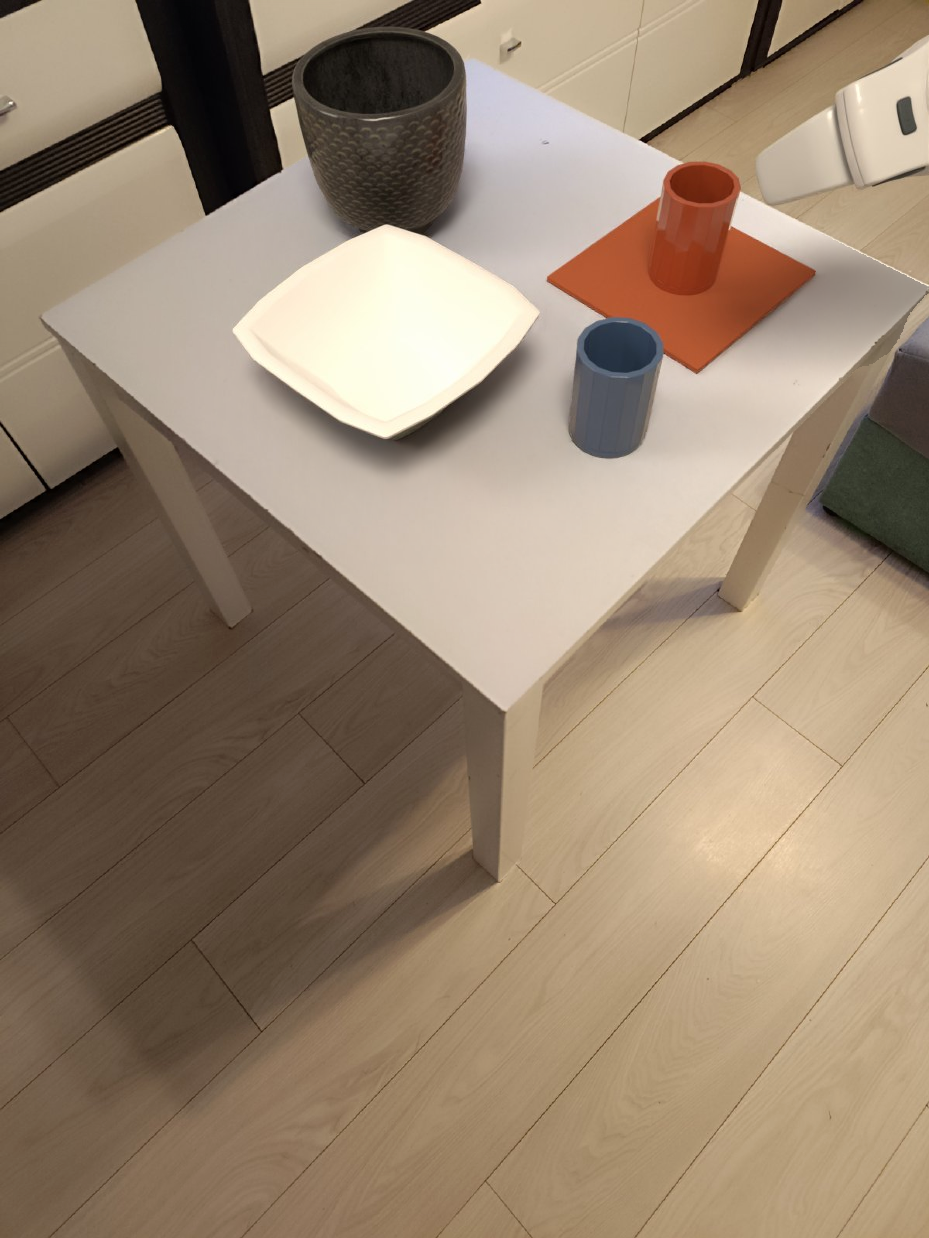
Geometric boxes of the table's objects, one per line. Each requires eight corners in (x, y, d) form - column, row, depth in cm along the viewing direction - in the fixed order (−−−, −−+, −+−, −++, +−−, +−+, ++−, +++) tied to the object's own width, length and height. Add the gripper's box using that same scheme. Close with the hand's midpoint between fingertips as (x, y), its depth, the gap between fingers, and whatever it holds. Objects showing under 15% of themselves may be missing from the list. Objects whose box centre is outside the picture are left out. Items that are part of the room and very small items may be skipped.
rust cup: (731, 272, 90) (755, 182, 82) (687, 305, 88) (708, 217, 79) (677, 242, 93) (696, 152, 85) (633, 273, 91) (648, 184, 82)
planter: (397, 155, 104) (382, 8, 90) (501, 214, 98) (502, 65, 84) (288, 222, 98) (254, 75, 84) (391, 289, 92) (373, 142, 78)
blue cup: (646, 403, 82) (663, 319, 74) (645, 461, 79) (663, 379, 70) (570, 399, 83) (579, 315, 74) (566, 456, 79) (575, 374, 71)
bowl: (399, 518, 76) (388, 455, 69) (234, 396, 84) (209, 327, 77) (557, 382, 84) (562, 312, 77) (392, 282, 92) (383, 210, 85)
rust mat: (814, 275, 91) (816, 270, 90) (696, 374, 84) (698, 369, 83) (665, 196, 98) (666, 191, 98) (546, 281, 92) (546, 276, 91)
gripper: (1061, 5, 59) (900, 88, 72) (830, 90, 54) (703, 163, 67) (1076, 101, 61) (916, 166, 74) (854, 192, 56) (725, 245, 69)
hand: (813, 165), depth 70 cm, fingers open, 8 cm apart
